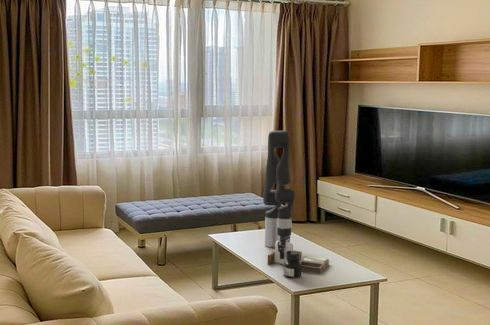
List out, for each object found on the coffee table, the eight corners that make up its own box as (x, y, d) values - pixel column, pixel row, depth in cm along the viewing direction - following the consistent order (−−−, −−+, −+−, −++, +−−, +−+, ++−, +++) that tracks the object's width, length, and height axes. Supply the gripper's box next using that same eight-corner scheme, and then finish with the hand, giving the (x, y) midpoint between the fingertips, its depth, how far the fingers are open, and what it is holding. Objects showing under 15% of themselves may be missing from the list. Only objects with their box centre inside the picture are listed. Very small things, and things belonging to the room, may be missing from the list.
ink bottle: (280, 273, 300) (280, 250, 298) (295, 271, 304) (296, 249, 302) (289, 279, 291) (289, 256, 290) (305, 277, 295) (305, 254, 293)
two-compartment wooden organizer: (305, 261, 321) (305, 255, 321) (328, 264, 316) (328, 258, 316) (295, 270, 306) (295, 264, 305) (320, 274, 301) (320, 267, 300)
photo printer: (293, 264, 316) (294, 241, 314) (289, 266, 312) (290, 243, 311) (277, 260, 322) (277, 238, 320) (273, 262, 318) (273, 240, 316)
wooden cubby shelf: (276, 257, 328) (276, 248, 327) (301, 260, 322) (301, 251, 322) (267, 264, 315) (267, 255, 314) (293, 267, 310) (293, 258, 309)
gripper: (282, 222, 322) (281, 253, 324) (273, 228, 309) (272, 260, 311) (295, 224, 319) (294, 254, 322) (286, 230, 306) (286, 262, 309)
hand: (283, 257), depth 316 cm, fingers closed on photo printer, 4 cm apart
